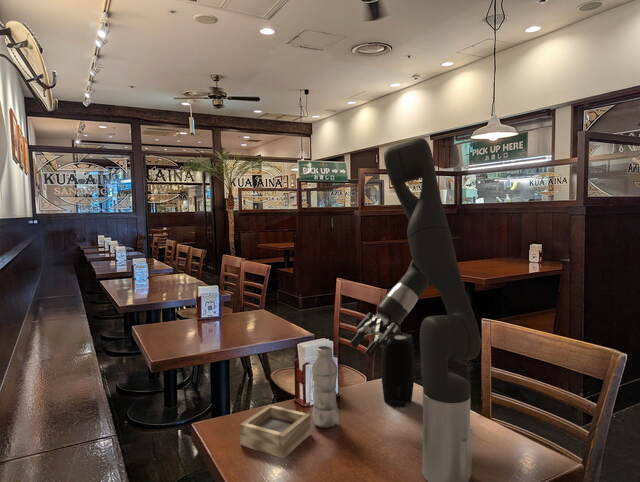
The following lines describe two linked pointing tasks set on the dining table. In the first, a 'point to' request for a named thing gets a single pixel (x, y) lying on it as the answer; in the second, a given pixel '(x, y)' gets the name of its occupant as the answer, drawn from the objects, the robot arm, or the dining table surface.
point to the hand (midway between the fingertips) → (359, 350)
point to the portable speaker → (398, 370)
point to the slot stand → (275, 430)
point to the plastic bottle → (324, 388)
